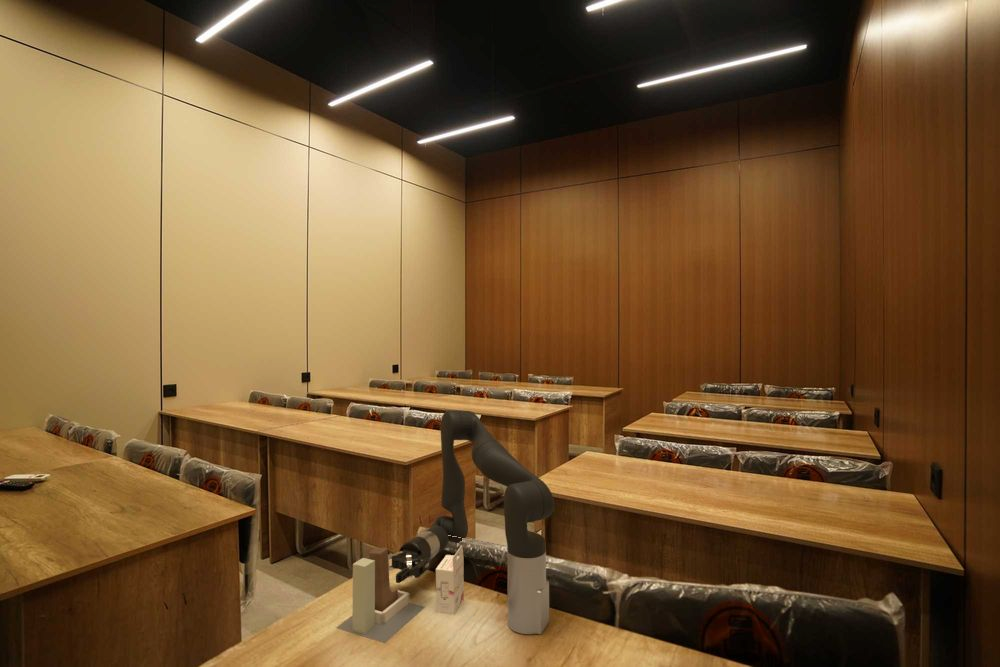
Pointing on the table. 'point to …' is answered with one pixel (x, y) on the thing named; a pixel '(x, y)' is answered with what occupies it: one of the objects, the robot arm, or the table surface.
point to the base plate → (388, 619)
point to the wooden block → (382, 580)
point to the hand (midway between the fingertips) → (382, 575)
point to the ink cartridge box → (450, 583)
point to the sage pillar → (363, 595)
